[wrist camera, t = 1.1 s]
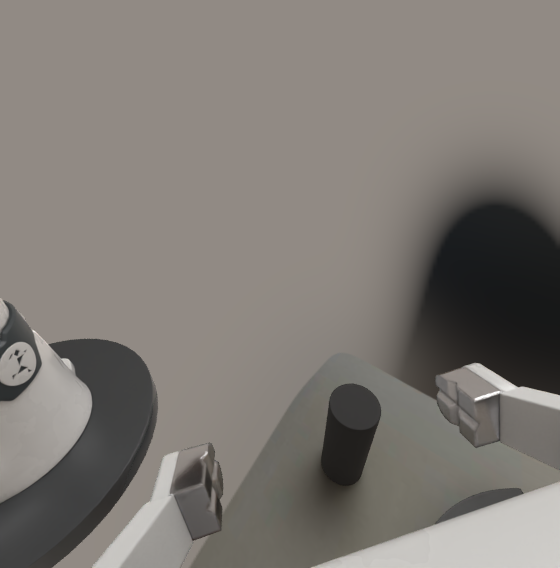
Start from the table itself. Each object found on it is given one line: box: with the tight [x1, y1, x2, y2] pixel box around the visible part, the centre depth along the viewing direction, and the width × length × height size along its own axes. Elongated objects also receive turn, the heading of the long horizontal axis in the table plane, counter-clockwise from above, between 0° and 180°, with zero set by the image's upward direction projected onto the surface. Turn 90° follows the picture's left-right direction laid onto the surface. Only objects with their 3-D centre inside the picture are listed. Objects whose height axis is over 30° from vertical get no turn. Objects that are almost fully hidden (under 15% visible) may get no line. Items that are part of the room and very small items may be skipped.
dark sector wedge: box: [435, 488, 524, 524], centre depth 22 cm, size 8×14×2 cm, turn 100°
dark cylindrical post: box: [322, 384, 381, 485], centre depth 26 cm, size 4×4×10 cm
